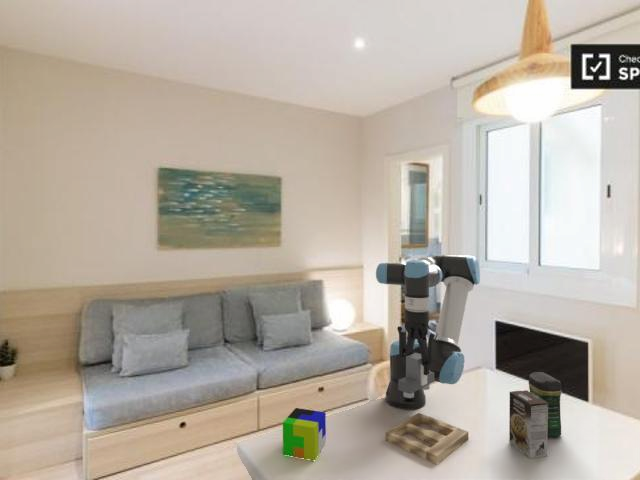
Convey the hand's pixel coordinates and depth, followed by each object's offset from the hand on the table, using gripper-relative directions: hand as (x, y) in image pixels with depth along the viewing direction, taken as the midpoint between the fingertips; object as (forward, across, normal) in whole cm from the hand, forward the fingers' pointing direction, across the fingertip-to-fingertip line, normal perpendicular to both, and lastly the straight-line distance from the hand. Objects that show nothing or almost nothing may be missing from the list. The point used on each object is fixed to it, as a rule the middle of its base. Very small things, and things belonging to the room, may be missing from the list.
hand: (416, 381), depth 127 cm
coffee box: (+18, +27, +17) cm, 37 cm away
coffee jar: (+18, +27, +32) cm, 46 cm away
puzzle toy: (+18, -20, -31) cm, 41 cm away
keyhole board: (+18, +3, 0) cm, 18 cm away
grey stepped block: (+3, 0, 0) cm, 3 cm away
